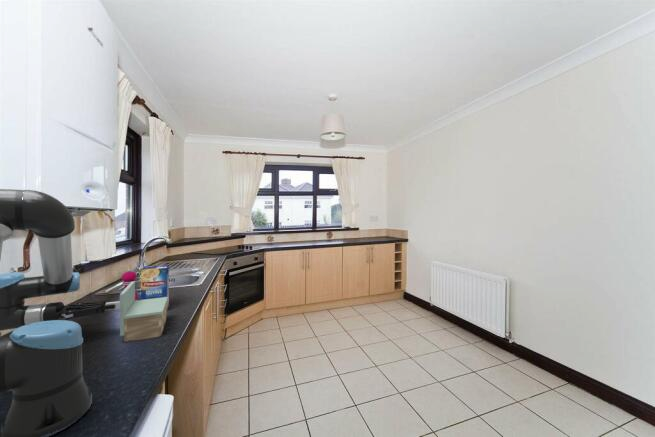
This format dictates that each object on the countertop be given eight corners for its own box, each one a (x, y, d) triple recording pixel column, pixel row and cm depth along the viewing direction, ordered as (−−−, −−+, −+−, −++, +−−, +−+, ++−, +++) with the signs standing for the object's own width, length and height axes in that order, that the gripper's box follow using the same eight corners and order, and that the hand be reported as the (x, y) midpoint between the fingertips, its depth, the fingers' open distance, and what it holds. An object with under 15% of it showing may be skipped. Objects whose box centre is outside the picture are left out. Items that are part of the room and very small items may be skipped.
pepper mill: (123, 305, 137) (123, 267, 136) (139, 303, 139) (139, 266, 139) (118, 310, 130) (117, 270, 129) (135, 308, 133) (135, 269, 132)
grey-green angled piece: (162, 329, 105) (162, 290, 104) (120, 335, 99) (119, 294, 98) (167, 312, 121) (167, 278, 121) (131, 317, 115) (131, 281, 115)
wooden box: (161, 336, 105) (161, 314, 105) (124, 342, 100) (124, 319, 99) (166, 319, 121) (166, 300, 121) (135, 323, 116) (134, 303, 115)
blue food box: (167, 311, 130) (167, 267, 130) (140, 314, 126) (140, 269, 125) (169, 306, 137) (168, 265, 136) (143, 309, 132) (143, 266, 131)
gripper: (54, 317, 102) (129, 307, 113) (37, 331, 90) (122, 319, 101) (54, 298, 102) (129, 290, 113) (37, 309, 90) (122, 300, 101)
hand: (125, 304), depth 107 cm, fingers closed
